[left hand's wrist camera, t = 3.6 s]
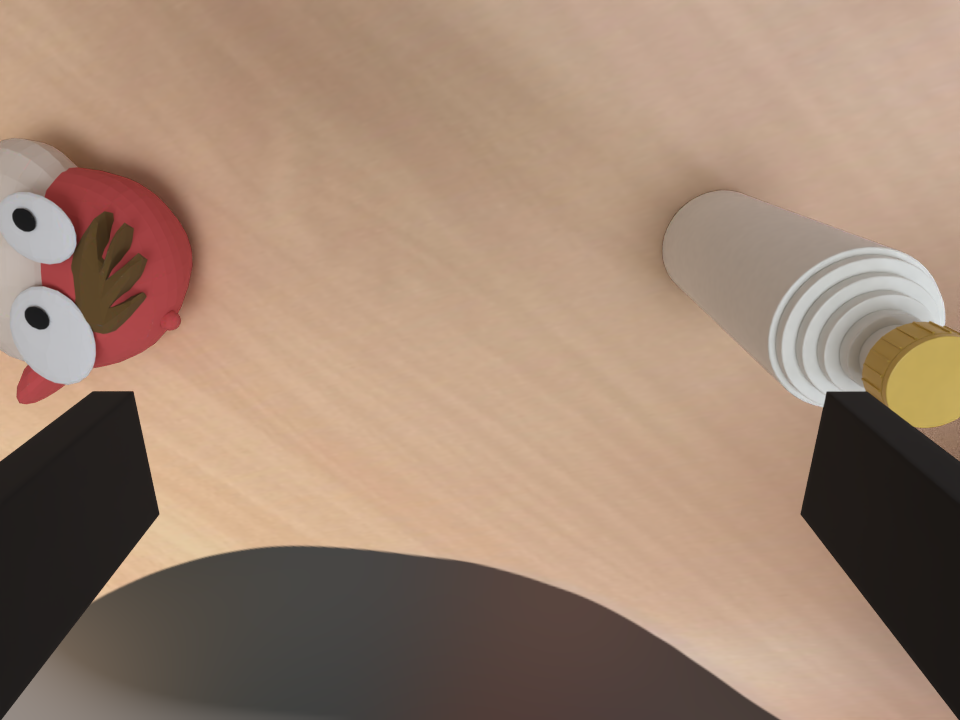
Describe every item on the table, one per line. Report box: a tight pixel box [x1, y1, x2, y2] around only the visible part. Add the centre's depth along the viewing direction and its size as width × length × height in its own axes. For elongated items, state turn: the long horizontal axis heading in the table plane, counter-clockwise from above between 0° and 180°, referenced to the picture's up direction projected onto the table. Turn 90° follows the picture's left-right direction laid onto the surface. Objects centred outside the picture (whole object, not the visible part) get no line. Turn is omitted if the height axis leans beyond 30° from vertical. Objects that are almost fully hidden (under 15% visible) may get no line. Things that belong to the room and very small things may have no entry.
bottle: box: [662, 190, 945, 407], centre depth 36 cm, size 8×8×24 cm
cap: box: [861, 321, 960, 428], centre depth 25 cm, size 4×4×2 cm
